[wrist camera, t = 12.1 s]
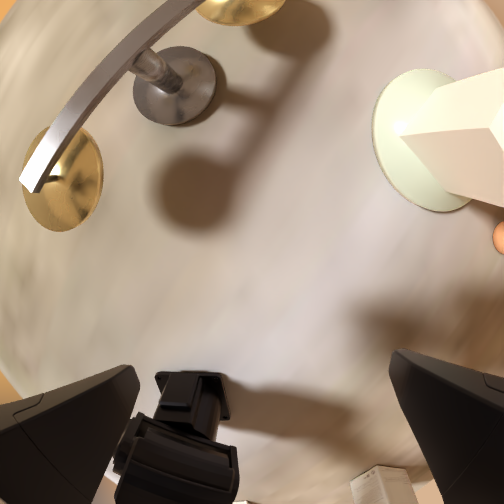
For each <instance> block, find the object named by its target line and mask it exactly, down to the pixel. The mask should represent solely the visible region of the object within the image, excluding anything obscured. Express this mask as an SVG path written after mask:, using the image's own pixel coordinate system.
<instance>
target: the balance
mask: <svg viewBox="0 0 504 504" xmlns="http://www.w3.org/2000/svg"><path fill="white" fill-rule="evenodd" d="M284 2H285V0H168V1H166V2H165V3H164V4H163V5H161V6H160V7H159V8H158V9H156V10H155V11H154V12H153V13H152V14H150V15H149V16H148V17H147V18H146V19H145V20H143V21H142V22H141V23H140V24H139V25H138V26H137V27H136V28H134V29H133V30H132V31H131V32H130V33H129V34H128V35H127V36H126V37H125V38H124V39H123V40H122V41H121V42H120V43H119V44H118V45H117V46H116V47H115V48H114V49H113V50H112V51H111V52H110V53H109V54H108V55H107V56H106V57H105V58H104V59H103V60H102V62H101V63H100V64H99V65H98V66H97V67H96V68H95V69H94V70H93V72H92V73H91V74H90V75H89V76H88V77H87V79H86V80H85V81H84V82H83V83H82V85H81V86H80V87H79V88H78V90H77V91H76V92H75V93H74V95H73V96H72V97H71V99H70V100H69V101H68V103H67V104H66V105H65V107H64V108H63V109H62V111H61V112H60V113H59V115H58V116H57V118H56V119H55V121H54V122H53V123H52V125H51V126H49V127H47V128H45V129H44V130H43V131H41V132H40V133H39V134H38V135H37V137H36V138H35V139H34V140H33V142H32V143H31V145H30V147H29V149H28V151H27V154H26V156H25V160H24V164H23V170H22V175H21V177H20V179H19V180H20V181H21V182H22V188H23V194H24V198H25V202H26V204H27V207H28V209H29V211H30V213H31V214H32V216H33V217H34V218H35V219H36V221H37V222H38V223H39V224H41V225H42V226H43V227H45V228H47V229H49V230H52V231H56V232H63V231H68V230H70V229H73V228H75V227H77V226H79V225H81V224H82V223H84V222H85V221H86V220H87V219H88V218H89V217H90V216H91V214H92V213H93V211H94V210H95V208H96V206H97V204H98V202H99V199H100V196H101V192H102V187H103V175H104V172H103V162H102V157H101V154H100V150H99V148H98V146H97V144H96V142H95V140H94V139H93V137H92V136H91V135H90V134H89V133H88V132H87V131H86V130H85V129H83V128H82V127H81V126H82V125H83V124H84V122H85V121H86V120H87V118H88V117H89V116H90V114H91V113H92V112H93V111H94V109H95V108H96V107H97V105H98V104H99V103H100V102H101V100H102V99H103V98H104V97H105V96H106V94H107V93H108V92H109V91H110V90H111V89H112V87H113V86H114V85H115V84H116V83H117V82H118V81H119V79H120V78H121V77H122V76H123V75H124V74H125V73H126V72H127V71H130V72H132V73H134V74H135V75H136V78H135V81H134V86H133V97H134V101H135V104H136V106H137V108H138V110H139V111H140V112H141V114H142V115H144V116H145V117H146V118H148V119H149V120H151V121H153V122H156V123H160V124H163V125H178V124H182V123H186V122H188V121H190V120H192V119H194V118H196V117H197V116H199V115H200V114H201V113H202V112H203V111H204V110H205V109H206V108H207V107H208V105H209V104H210V102H211V100H212V99H213V96H214V94H215V90H216V84H217V81H216V73H215V70H214V68H213V66H212V64H211V63H210V61H209V60H208V58H207V57H206V56H205V55H204V54H202V53H201V52H200V51H198V50H196V49H193V48H190V47H184V46H177V47H170V48H167V49H164V50H161V51H159V52H157V53H155V52H154V51H153V50H152V49H150V47H151V46H152V45H153V44H155V43H156V42H157V41H158V40H159V39H160V38H161V37H162V36H163V35H164V34H165V33H167V32H168V31H169V30H170V29H171V28H172V27H173V26H175V25H176V24H177V23H178V22H179V21H181V20H182V19H183V18H184V17H185V16H187V15H188V14H189V13H190V12H192V11H193V10H194V9H196V11H197V12H198V13H199V14H200V15H201V16H202V17H204V18H205V19H207V20H209V21H211V22H214V23H217V24H221V25H227V26H244V25H250V24H254V23H258V22H261V21H263V20H265V19H267V18H269V17H271V16H273V15H274V14H275V13H276V12H278V11H279V10H280V9H281V7H282V6H283V4H284Z"/></svg>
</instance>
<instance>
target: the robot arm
mask: <svg viewBox="0 0 504 504" xmlns="http://www.w3.org/2000/svg"><path fill="white" fill-rule="evenodd" d="M389 376H390V379H391V382H392V384H393V387H394V390H395V393H396V396H397V399H398V402H399V404H400V407H401V409H402V411H403V413H404V415H405V417H406V419H407V421H408V423H409V425H410V427H411V429H412V431H413V433H414V435H415V438H416V440H417V442H418V444H419V446H420V448H421V450H422V452H423V455H424V457H425V459H426V461H427V463H428V466H429V468H430V470H431V472H432V475H433V477H434V479H435V482H436V484H437V486H438V488H439V491H440V493H441V495H442V498H443V501H444V504H504V378H503V377H499V376H495V375H491V374H487V373H482V372H479V371H475V370H472V369H469V368H465V367H462V366H459V365H455V364H452V363H449V362H445V361H442V360H439V359H436V358H432V357H429V356H426V355H423V354H420V353H417V352H414V351H411V350H407V349H404V348H402V349H397V350H394V351H393V352H392V356H391V361H390V366H389ZM160 377H161V378H160ZM215 378H218V379H215ZM155 380H156V382H157V385H158V388H159V390H160V393H161V397H160V400H159V404H158V407H157V409H156V412H155V414H154V416H153V419H152V418H150V417H147V416H145V415H144V414H143V413H141V412H138V414H137V415H136V417H133V418H132V419H130V417H131V414H132V411H133V408H134V405H135V402H136V399H137V396H138V393H139V390H140V382H139V379H138V377H137V374H136V372H135V369H134V367H133V366H132V365H120V366H117V367H115V368H112V369H110V370H107V371H104V372H102V373H99V374H96V375H94V376H91V377H88V378H86V379H83V380H80V381H77V382H74V383H72V384H69V385H66V386H63V387H60V388H57V389H55V390H52V391H49V392H46V393H45V394H44V393H42V394H39V395H36V396H32V397H29V398H26V399H22V400H19V401H15V402H11V403H7V404H3V405H0V504H91V502H92V501H93V498H94V496H95V494H96V491H97V489H98V487H99V485H100V482H101V480H102V478H103V476H104V473H105V471H106V469H107V467H108V464H109V462H110V460H111V458H112V456H113V458H114V461H113V464H114V467H113V472H114V473H116V474H118V475H120V476H121V477H120V480H119V483H118V485H117V488H116V491H115V494H114V499H115V502H116V504H233V502H234V500H235V498H236V495H237V492H238V488H239V480H240V479H239V468H238V458H237V448H236V447H235V446H231V445H230V446H228V445H224V444H221V443H218V442H216V436H217V430H218V425H219V420H229V419H230V416H231V414H230V410H229V406H228V402H227V398H226V393H225V389H224V385H223V380H222V376H221V375H220V374H218V373H174V372H157V373H156V375H155Z"/></svg>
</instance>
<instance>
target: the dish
mask: <svg viewBox="0 0 504 504" xmlns="http://www.w3.org/2000/svg"><path fill="white" fill-rule="evenodd" d="M453 82H456V80H454V79H453V78H451V77H450V76H448V75H446V74H444V73H441V72H439V71H435V70H431V69H416V70H411V71H409V72H406V73H404V74H402V75H400V76H398V77H397V78H395V79H394V80H392V81H391V82H390V83H389V84H388V85H387V86H386V87H385V88H384V89H383V91H382V92H381V93H380V95H379V97H378V99H377V101H376V104H375V107H374V111H373V116H372V140H373V147H374V151H375V154H376V158H377V160H378V163H379V165H380V167H381V169H382V171H383V173H384V175H385V177H386V178H387V180H388V181H389V183H390V184H391V185H392V186H393V188H394V189H395V190H396V191H397V192H398V193H399V194H400V195H401V196H403V197H404V198H405V199H407V200H408V201H410V202H412V203H413V204H415V205H418V206H421V207H423V208H426V209H429V210H433V211H442V212H445V211H452V210H455V209H458V208H460V207H462V206H464V205H465V204H467V203H468V202H469V201H470V200H471V199H472V198H469V197H465V196H461V195H457V194H453V193H449V192H445V191H444V189H443V188H442V187H441V185H440V184H439V183H438V182H437V180H436V179H435V178H434V176H433V175H432V174H431V173H430V172H429V170H428V169H427V168H426V167H425V166H424V164H423V163H422V162H421V161H420V160H419V158H418V157H417V156H416V155H415V154H414V153H413V152H412V151H411V149H410V148H409V147H408V146H407V145H406V144H405V143H404V142H403V141H402V140H401V138H400V137H399V135H400V134H401V133H402V131H403V130H404V129H405V128H406V126H407V125H408V124H409V123H410V121H411V120H412V119H413V117H414V116H415V115H416V114H417V112H418V111H419V110H420V109H421V107H422V106H423V105H424V103H425V102H426V101H427V100H428V98H429V97H430V96H431V94H432V93H433V92H434V90H435V89H436V88H438V87H441V86H444V85H447V84H450V83H453Z"/></svg>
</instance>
